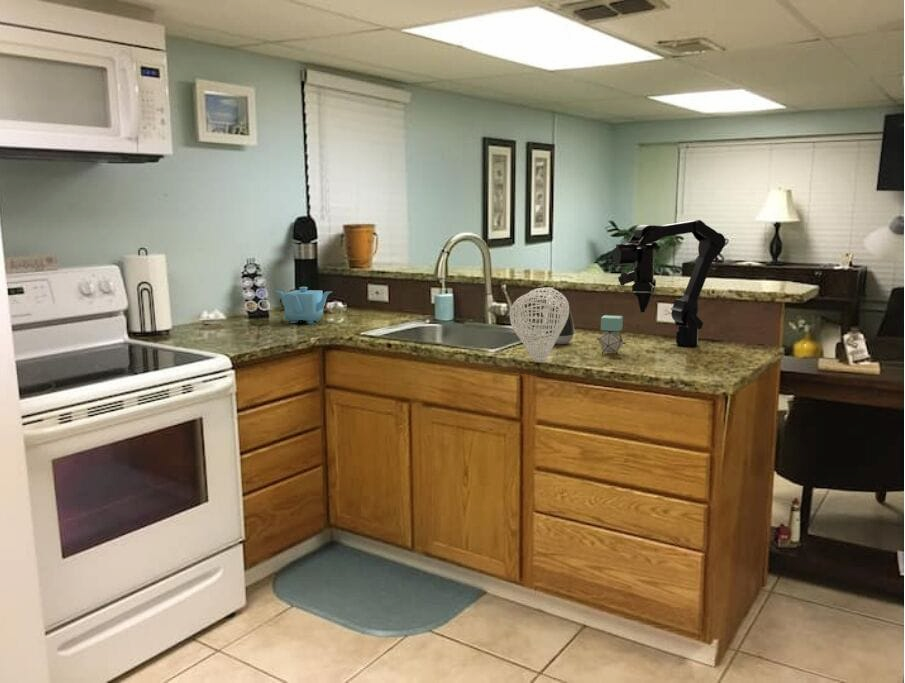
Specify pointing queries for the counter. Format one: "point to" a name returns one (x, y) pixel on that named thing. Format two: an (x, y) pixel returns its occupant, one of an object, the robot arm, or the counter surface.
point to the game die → (611, 341)
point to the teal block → (611, 323)
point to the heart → (521, 324)
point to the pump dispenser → (567, 331)
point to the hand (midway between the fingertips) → (643, 310)
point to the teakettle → (303, 304)
